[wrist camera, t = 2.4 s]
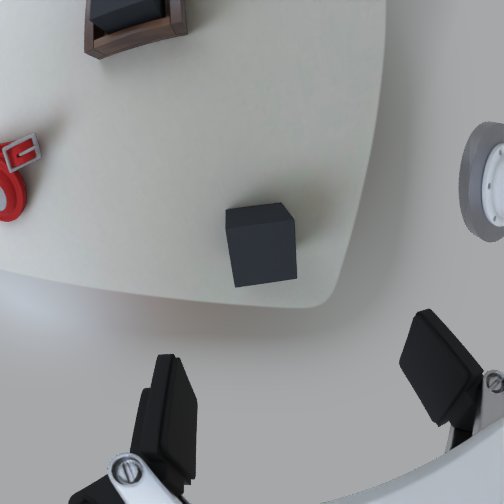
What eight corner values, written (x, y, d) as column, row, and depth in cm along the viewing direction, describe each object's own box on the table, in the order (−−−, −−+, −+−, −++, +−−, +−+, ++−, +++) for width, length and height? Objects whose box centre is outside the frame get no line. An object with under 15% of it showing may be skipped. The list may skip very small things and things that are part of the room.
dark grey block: (281, 202, 24) (294, 219, 20) (285, 252, 26) (297, 278, 22) (225, 209, 24) (225, 228, 19) (233, 260, 26) (235, 287, 22)
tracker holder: (18, 240, 22) (-38, 206, 16) (33, 216, 25) (-20, 185, 20) (35, 148, 16) (-30, 113, 11) (57, 130, 19) (-5, 98, 14)
